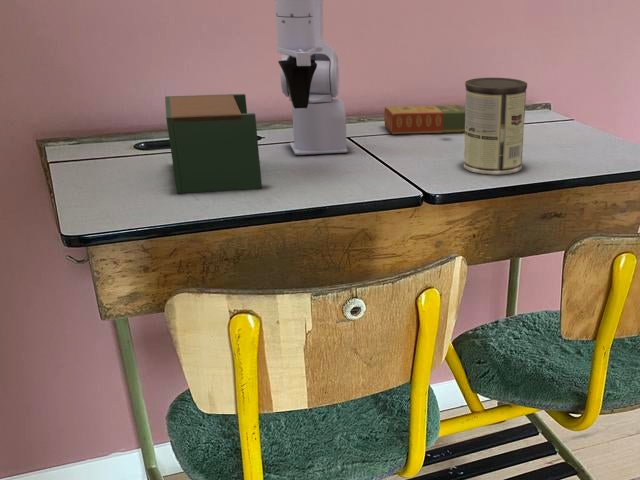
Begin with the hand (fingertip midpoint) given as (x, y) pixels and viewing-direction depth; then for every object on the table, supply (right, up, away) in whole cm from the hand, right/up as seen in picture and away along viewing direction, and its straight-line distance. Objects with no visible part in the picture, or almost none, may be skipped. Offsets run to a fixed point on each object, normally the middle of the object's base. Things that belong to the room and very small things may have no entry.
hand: (300, 107), depth 132 cm
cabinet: (-14, -11, +2) cm, 17 cm away
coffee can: (+32, -7, +10) cm, 34 cm away
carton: (+20, +7, +35) cm, 41 cm away
